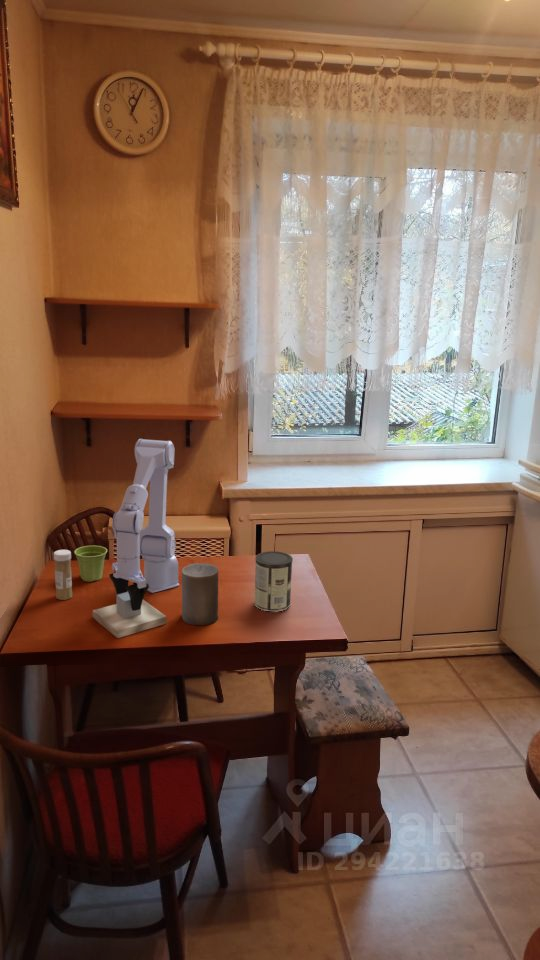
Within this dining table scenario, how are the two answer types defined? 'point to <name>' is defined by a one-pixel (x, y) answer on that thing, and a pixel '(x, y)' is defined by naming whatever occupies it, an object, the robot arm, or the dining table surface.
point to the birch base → (128, 620)
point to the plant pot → (91, 562)
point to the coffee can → (273, 581)
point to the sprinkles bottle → (63, 574)
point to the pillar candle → (200, 594)
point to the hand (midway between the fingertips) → (129, 604)
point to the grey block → (125, 606)
